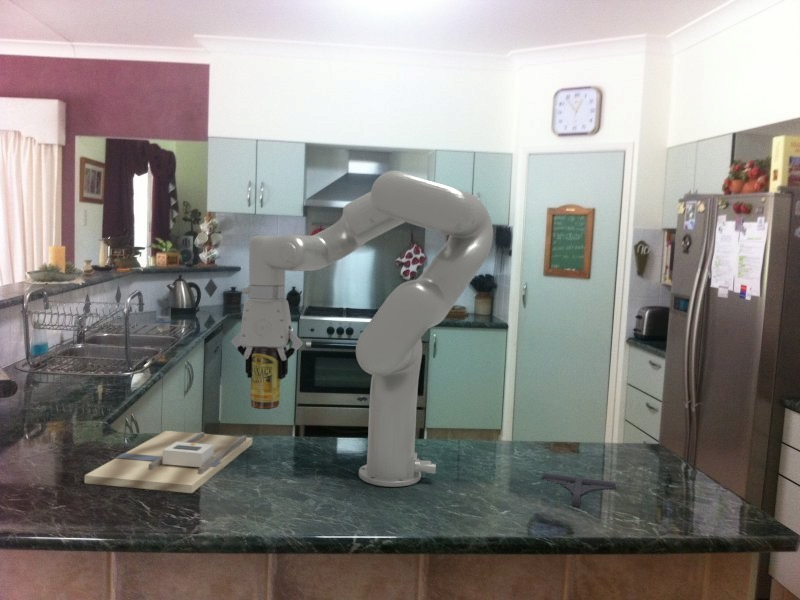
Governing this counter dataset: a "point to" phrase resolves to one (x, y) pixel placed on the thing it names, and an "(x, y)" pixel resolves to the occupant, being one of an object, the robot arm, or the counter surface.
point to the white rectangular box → (188, 454)
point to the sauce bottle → (265, 378)
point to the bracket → (579, 485)
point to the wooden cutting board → (150, 473)
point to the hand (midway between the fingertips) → (266, 376)
